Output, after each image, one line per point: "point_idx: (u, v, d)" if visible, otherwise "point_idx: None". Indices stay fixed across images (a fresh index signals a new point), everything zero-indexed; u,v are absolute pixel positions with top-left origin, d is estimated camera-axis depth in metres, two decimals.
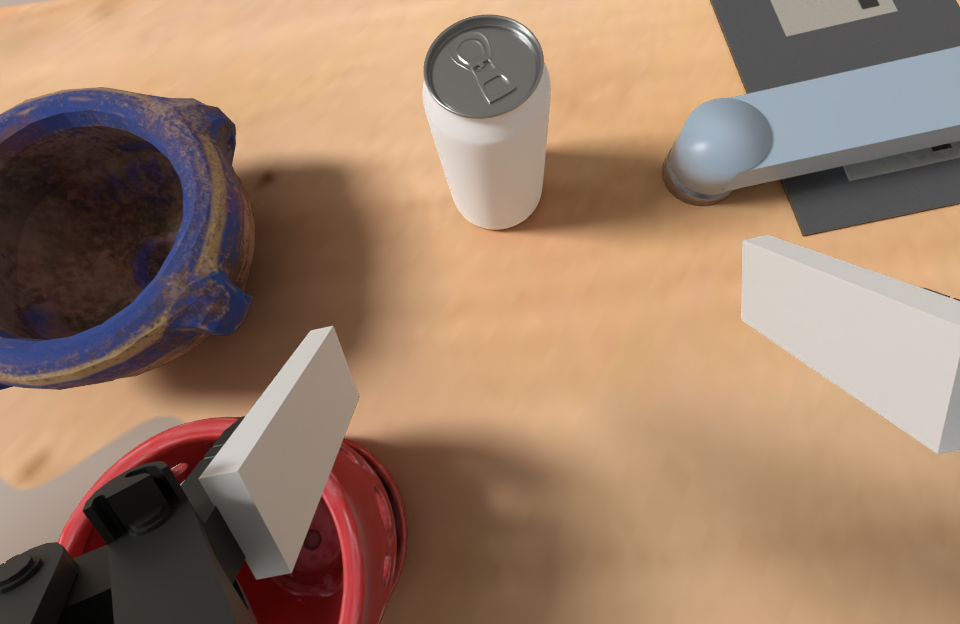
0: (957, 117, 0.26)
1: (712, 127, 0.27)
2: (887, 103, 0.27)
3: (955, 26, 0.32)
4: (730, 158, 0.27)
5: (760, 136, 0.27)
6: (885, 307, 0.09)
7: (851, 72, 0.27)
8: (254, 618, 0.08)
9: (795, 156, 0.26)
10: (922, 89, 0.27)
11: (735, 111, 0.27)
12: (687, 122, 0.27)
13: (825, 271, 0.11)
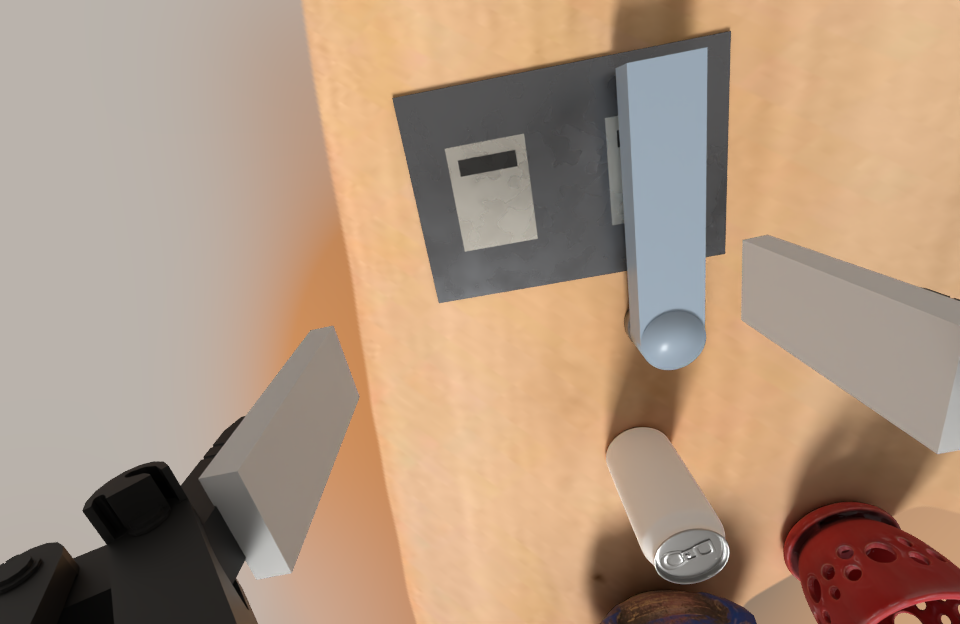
0: (699, 169, 0.30)
1: (665, 351, 0.35)
2: (672, 220, 0.32)
3: (549, 81, 0.32)
4: (694, 342, 0.35)
5: (681, 320, 0.34)
6: (885, 307, 0.09)
7: (637, 243, 0.32)
8: (254, 618, 0.08)
9: (701, 296, 0.34)
10: (666, 190, 0.31)
11: (655, 334, 0.35)
12: (656, 366, 0.36)
13: (825, 271, 0.11)
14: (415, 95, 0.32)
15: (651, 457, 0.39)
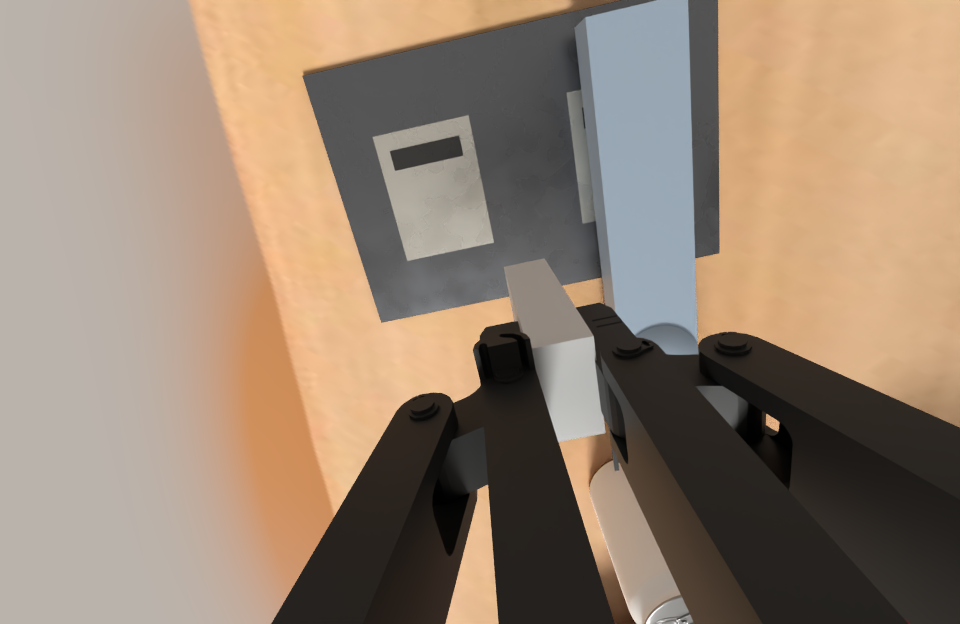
0: (683, 150, 0.24)
1: None
2: (653, 216, 0.26)
3: (495, 48, 0.26)
4: None
5: (668, 336, 0.28)
6: None
7: (611, 245, 0.26)
8: None
9: (692, 307, 0.28)
10: (643, 179, 0.25)
11: None
12: None
13: (540, 293, 0.13)
14: (330, 71, 0.26)
15: None
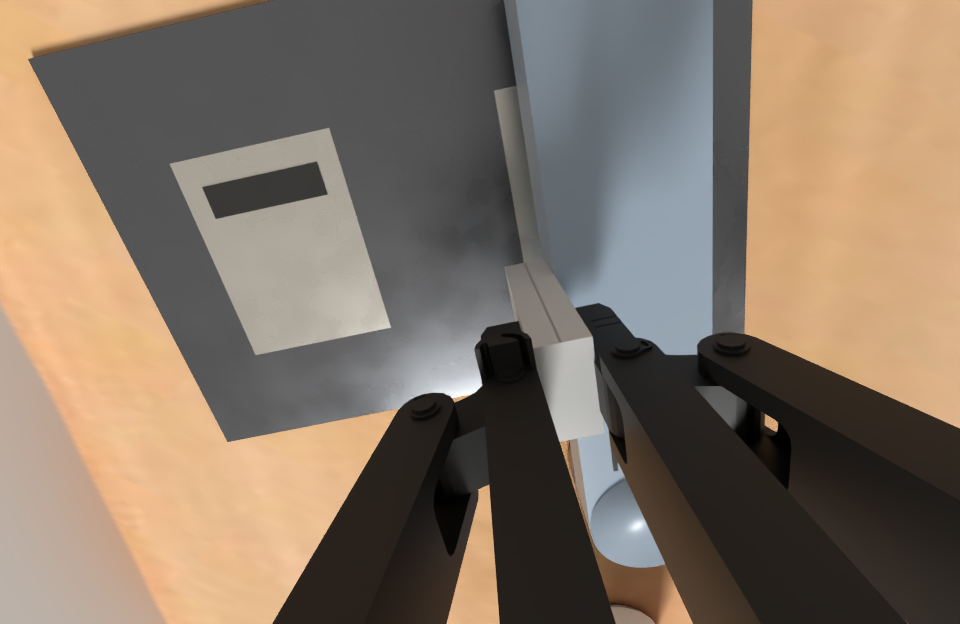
0: (696, 197, 0.13)
1: (637, 539, 0.18)
2: (641, 307, 0.15)
3: (365, 13, 0.15)
4: None
5: None
6: None
7: None
8: None
9: None
10: (624, 246, 0.14)
11: (617, 513, 0.18)
12: (622, 563, 0.19)
13: (539, 293, 0.13)
14: (77, 51, 0.15)
15: None
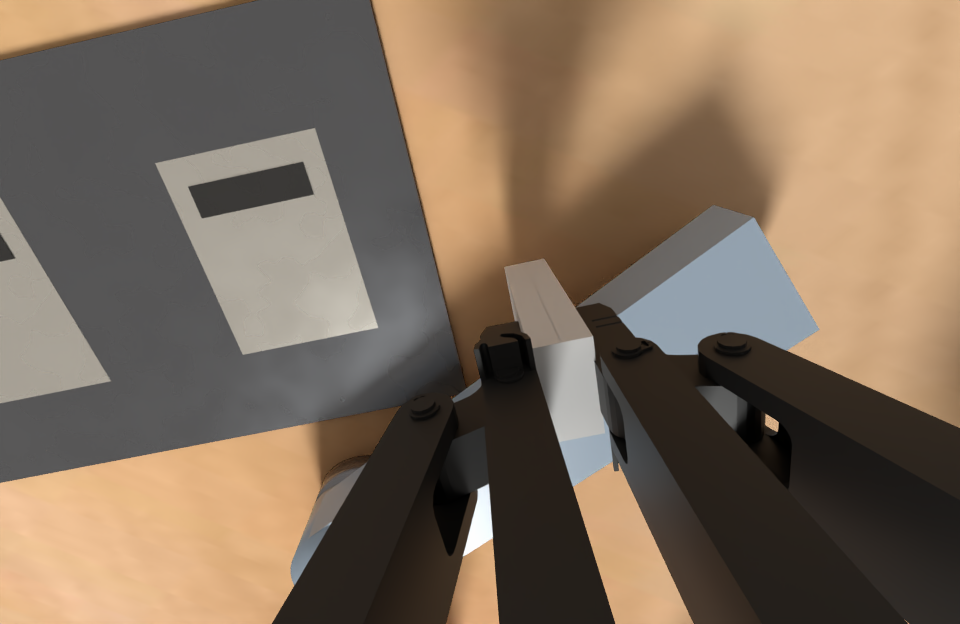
0: None
1: None
2: None
3: (8, 92, 0.15)
4: None
5: None
6: None
7: None
8: None
9: None
10: None
11: None
12: (294, 580, 0.19)
13: (539, 293, 0.13)
14: None
15: None
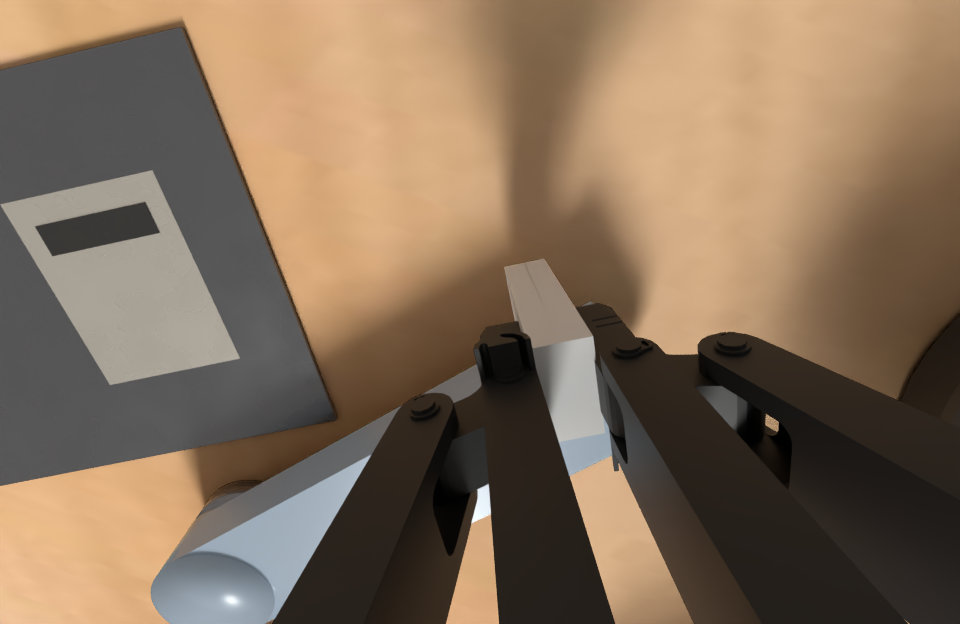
0: None
1: (189, 598, 0.19)
2: None
3: None
4: (233, 623, 0.20)
5: (254, 593, 0.19)
6: None
7: (335, 477, 0.17)
8: None
9: None
10: None
11: (205, 573, 0.18)
12: (154, 600, 0.19)
13: (539, 293, 0.13)
14: None
15: None
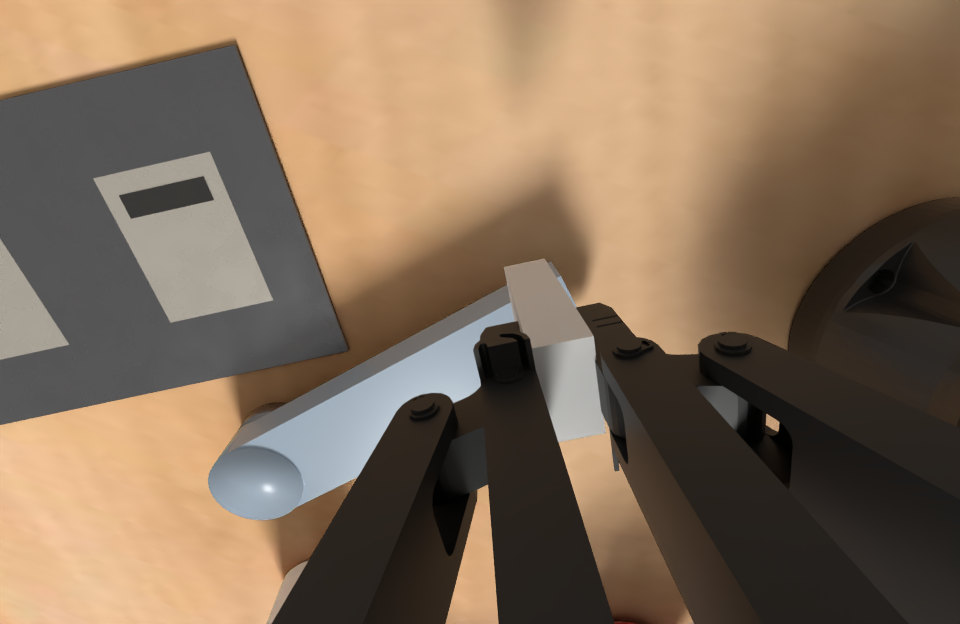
0: None
1: (237, 484, 0.25)
2: None
3: None
4: (270, 507, 0.25)
5: (288, 481, 0.25)
6: None
7: (357, 387, 0.23)
8: None
9: (331, 485, 0.25)
10: (434, 388, 0.23)
11: (252, 463, 0.24)
12: (210, 485, 0.25)
13: (540, 293, 0.13)
14: None
15: None
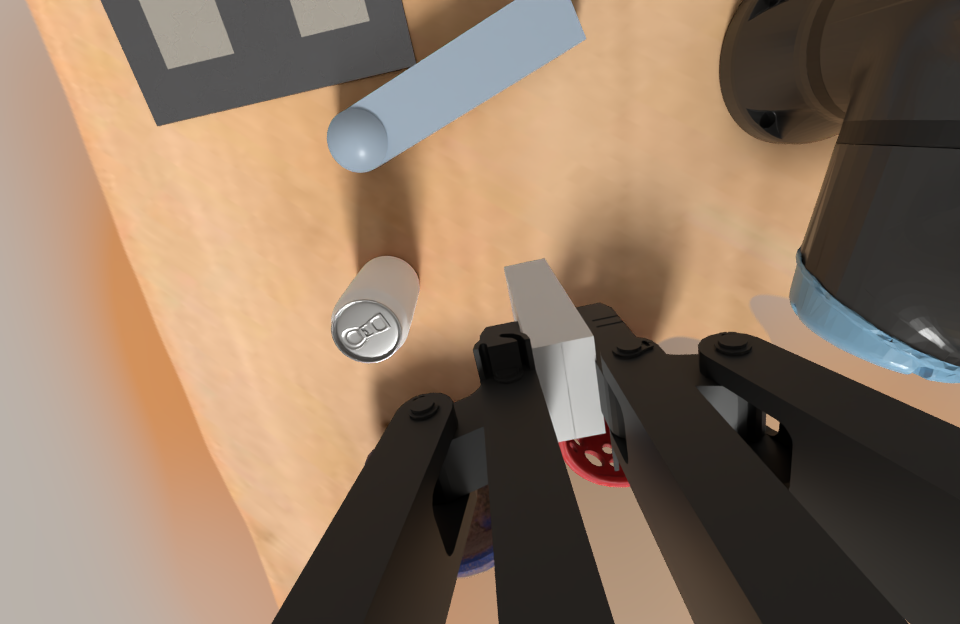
0: (502, 82, 0.36)
1: (345, 138, 0.37)
2: (456, 81, 0.36)
3: None
4: (365, 160, 0.38)
5: (379, 137, 0.37)
6: None
7: (428, 58, 0.36)
8: None
9: (406, 145, 0.38)
10: (477, 62, 0.36)
11: (356, 120, 0.37)
12: (328, 138, 0.37)
13: (540, 293, 0.13)
14: None
15: (369, 268, 0.41)
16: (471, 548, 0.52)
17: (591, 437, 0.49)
